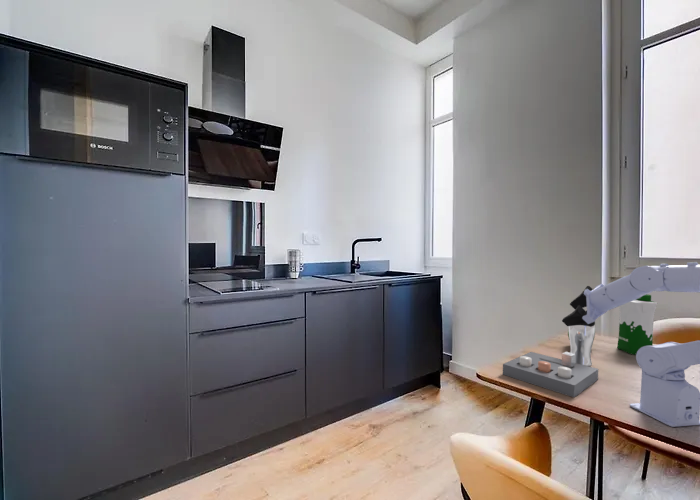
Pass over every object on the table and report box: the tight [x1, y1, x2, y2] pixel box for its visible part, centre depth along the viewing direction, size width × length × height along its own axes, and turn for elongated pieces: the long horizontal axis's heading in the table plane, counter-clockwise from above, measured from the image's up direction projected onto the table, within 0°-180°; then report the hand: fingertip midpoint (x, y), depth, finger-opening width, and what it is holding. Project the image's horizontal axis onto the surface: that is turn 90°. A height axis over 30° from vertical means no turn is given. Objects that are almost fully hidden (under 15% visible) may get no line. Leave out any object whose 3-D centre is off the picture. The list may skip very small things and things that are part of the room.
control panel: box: [502, 351, 599, 398], centre depth 100 cm, size 18×18×3 cm
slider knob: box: [561, 351, 575, 367], centre depth 100 cm, size 2×3×3 cm
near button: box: [558, 366, 571, 379], centre depth 93 cm, size 3×3×3 cm
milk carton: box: [616, 294, 658, 355], centre depth 124 cm, size 9×9×20 cm
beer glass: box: [568, 323, 596, 367], centre depth 111 cm, size 7×7×15 cm
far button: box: [519, 355, 532, 367], centre depth 101 cm, size 3×3×3 cm
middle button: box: [538, 361, 551, 373], centre depth 97 cm, size 3×3×3 cm
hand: (568, 314), depth 100 cm, fingers open, 7 cm apart
